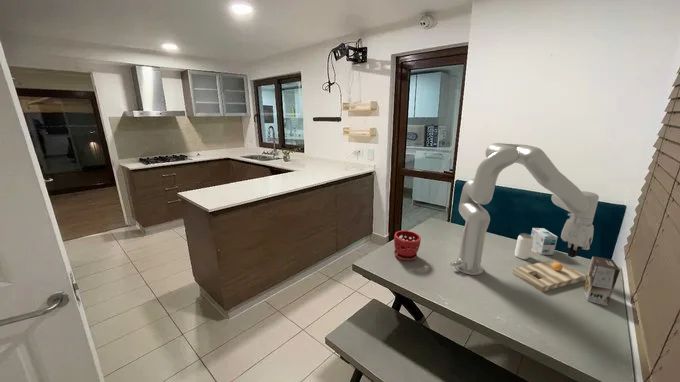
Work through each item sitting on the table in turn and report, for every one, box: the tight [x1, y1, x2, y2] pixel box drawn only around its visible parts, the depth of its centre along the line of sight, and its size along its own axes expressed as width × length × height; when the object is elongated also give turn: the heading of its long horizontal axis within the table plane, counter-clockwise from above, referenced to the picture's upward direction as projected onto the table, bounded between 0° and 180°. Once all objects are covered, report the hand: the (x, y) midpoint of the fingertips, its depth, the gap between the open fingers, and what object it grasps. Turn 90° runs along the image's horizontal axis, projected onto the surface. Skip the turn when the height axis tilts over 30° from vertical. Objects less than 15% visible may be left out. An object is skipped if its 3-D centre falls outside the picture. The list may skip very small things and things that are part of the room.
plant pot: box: [393, 230, 422, 262], centre depth 139 cm, size 13×13×12 cm
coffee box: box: [582, 255, 621, 307], centre depth 107 cm, size 9×6×16 cm
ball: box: [553, 262, 563, 271], centre depth 123 cm, size 4×4×4 cm
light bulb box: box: [530, 227, 559, 256], centre depth 145 cm, size 11×7×11 cm, turn 178°
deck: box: [511, 259, 587, 293], centre depth 122 cm, size 26×14×2 cm, turn 108°
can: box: [514, 232, 533, 260], centre depth 138 cm, size 6×6×12 cm
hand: (571, 256), depth 124 cm, fingers closed
